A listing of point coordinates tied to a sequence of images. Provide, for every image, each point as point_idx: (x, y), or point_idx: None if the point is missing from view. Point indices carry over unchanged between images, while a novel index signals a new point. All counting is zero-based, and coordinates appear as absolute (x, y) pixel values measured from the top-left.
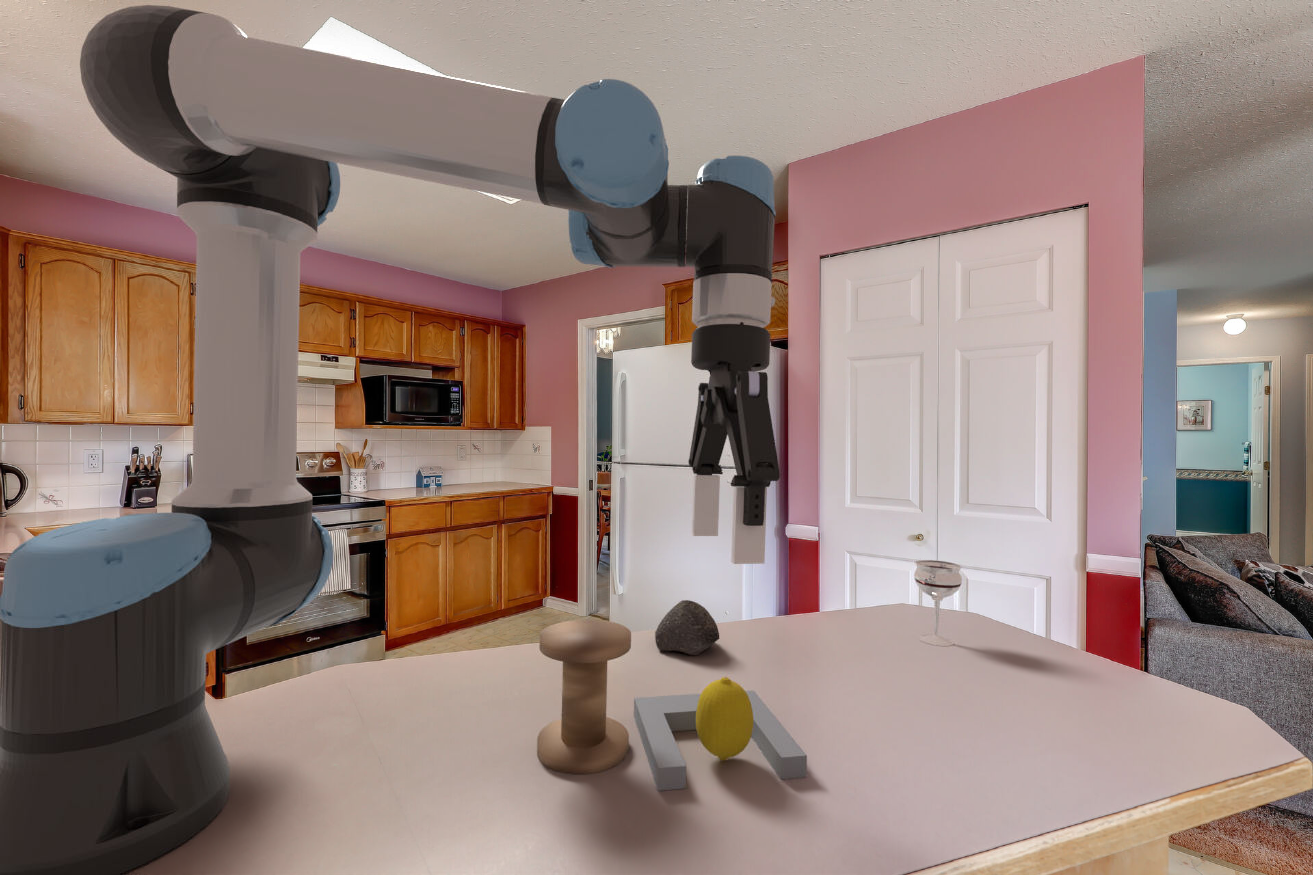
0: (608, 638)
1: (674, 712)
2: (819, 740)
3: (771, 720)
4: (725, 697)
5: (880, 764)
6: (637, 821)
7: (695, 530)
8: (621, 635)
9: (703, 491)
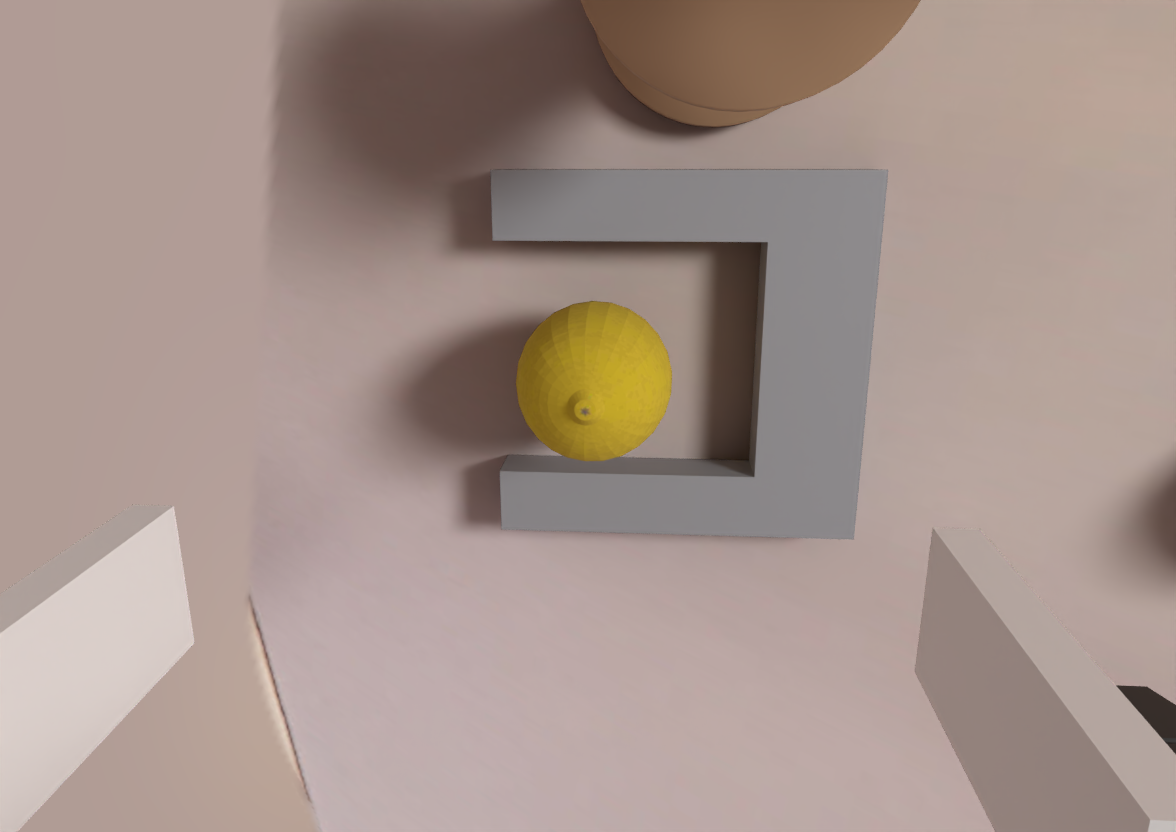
0: (680, 1)
1: (765, 275)
2: (648, 605)
3: (671, 517)
4: (537, 385)
5: (534, 676)
6: (399, 103)
7: (942, 553)
8: (706, 62)
9: (1050, 774)
